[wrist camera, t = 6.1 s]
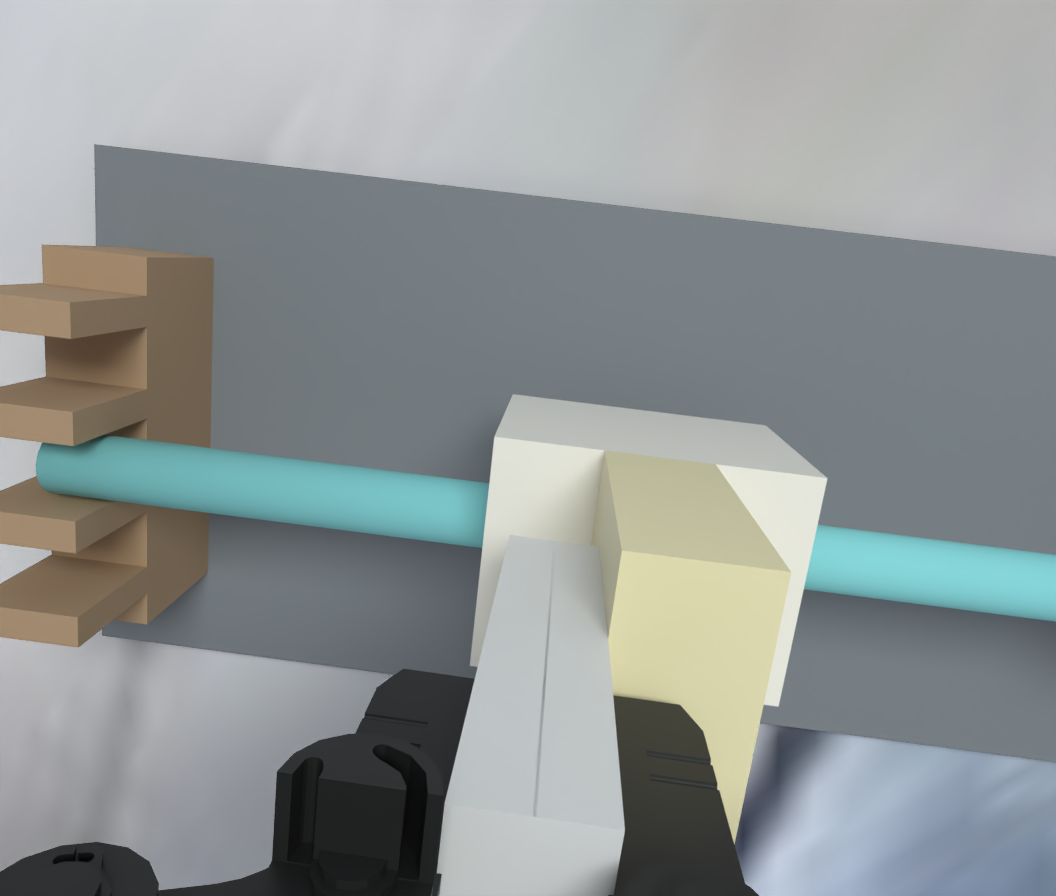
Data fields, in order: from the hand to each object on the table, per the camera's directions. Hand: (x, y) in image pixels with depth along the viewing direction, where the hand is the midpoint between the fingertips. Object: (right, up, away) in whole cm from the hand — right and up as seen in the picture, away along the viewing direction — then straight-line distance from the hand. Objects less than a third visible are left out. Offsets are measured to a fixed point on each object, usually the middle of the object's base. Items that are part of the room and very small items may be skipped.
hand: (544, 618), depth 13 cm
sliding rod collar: (+2, +1, +6) cm, 7 cm away
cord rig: (+6, +2, +9) cm, 11 cm away
